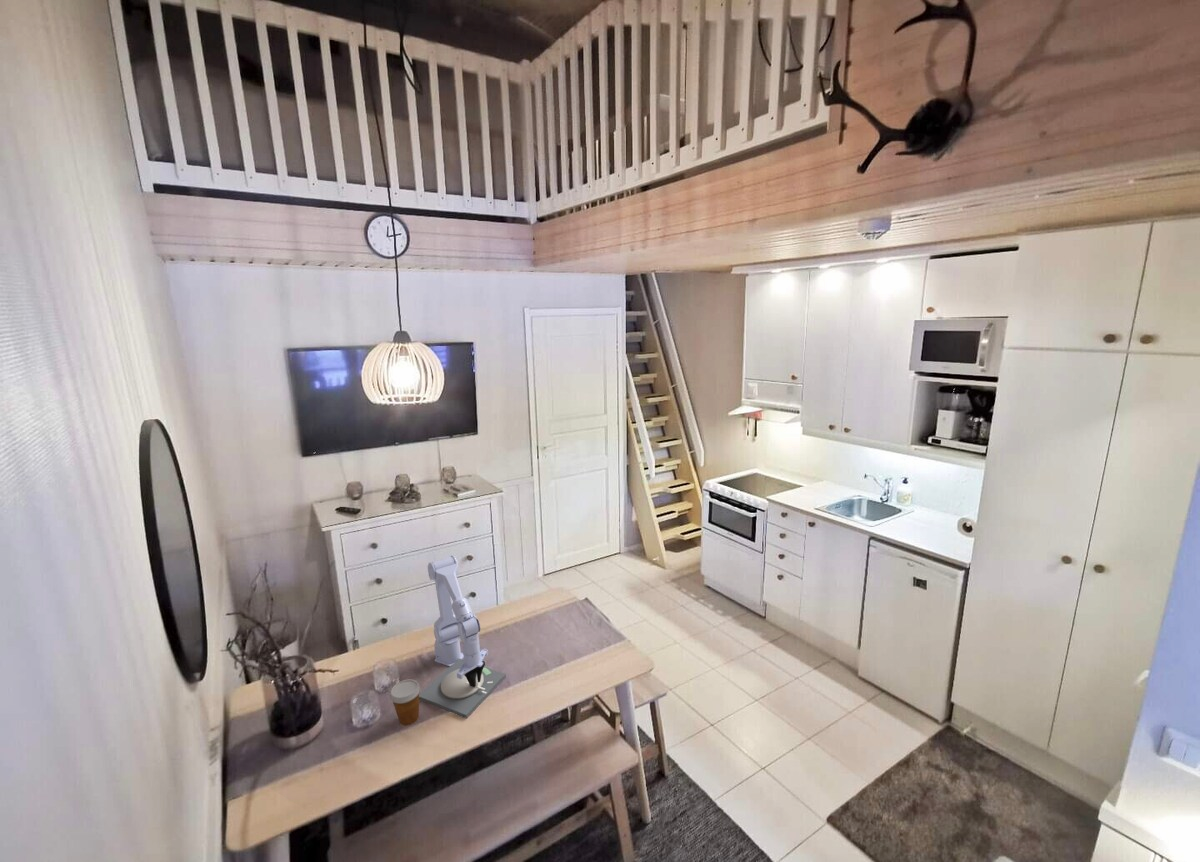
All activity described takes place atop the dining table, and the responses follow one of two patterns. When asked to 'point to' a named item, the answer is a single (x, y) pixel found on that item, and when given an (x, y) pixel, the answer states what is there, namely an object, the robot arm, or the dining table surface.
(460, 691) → the beige oval dome
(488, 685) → the tuner board
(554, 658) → the dining table surface
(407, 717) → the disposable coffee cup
